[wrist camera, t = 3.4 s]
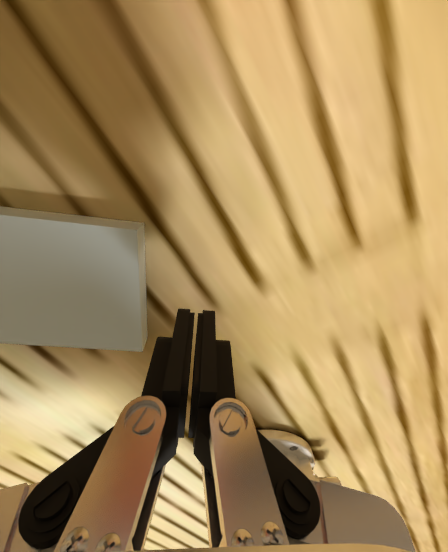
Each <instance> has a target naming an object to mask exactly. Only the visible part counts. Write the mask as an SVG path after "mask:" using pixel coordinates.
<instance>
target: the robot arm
mask: <svg viewBox="0 0 448 552" xmlns="http://www.w3.org/2000/svg"><path fill="white" fill-rule="evenodd" d="M194 314H195V313H190V309H178V312H177V317H176V323H175V328H174V333H173V338H168V337H158V338H157V341H156V344H155V348H154V351H153V355H152V359H151V362H150V366H149V370H148V374H147V377H146V381H145V385H144V388H143V392H142V396H141V397H138V398H136V399H134V400H132V401H131V402H130V403H128V404H127V405H126V406H125V408H124V409H123V411H122V412H121V414H120V416H119V418H118V420H117V422H116V424H115V426H114V427H112V428H111V429H110V430H108V431H107V432H106V433H104V434H103V435H101V436H100V437H99V438H97V439H96V440H95V441H93V442H92V443H91V444H89V445H88V446H87V447H85V448H84V449H83V450H81V451H80V452H79V453H77V454H76V455H75V456H73V457H72V458H71V459H69V460H68V461H67V462H65V463H64V464H63V465H61V466H60V467H59V468H57V469H56V470H55V471H53V472H52V473H51V474H49V475H48V476H47V477H45V478H44V479H43V480H42V481H41V482H39V483H35V484H31V485H27V483H23V484H20V485H16V486H12V487H8V488H4V489H1V490H0V552H415V549H414V546H413V543H412V540H411V538H410V535H409V532H408V529H407V527H406V525H405V523H404V521H403V519H402V517H401V516H400V515H399V513H398V512H397V511H396V509H395V508H394V507H393V506H392V505H390V504H389V503H388V502H387V501H386V500H384V499H382V498H380V497H378V496H374V495H371V494H368V493H364V492H361V491H357V490H354V489H350V488H347V487H343V486H341V483H340V481H339V479H338V478H337V477H317V475H316V474H313V471H312V470H313V468H314V465H315V458H314V455H313V452H312V450H311V447H310V446H309V444H308V443H307V442H306V441H305V440H303V439H302V438H301V437H299V436H297V435H295V434H292V433H288V432H285V431H279V430H264V429H263V430H257V429H256V428H255V426H254V422H253V419H252V415H251V413H250V411H249V409H248V408H247V407H246V405H245V404H244V403H242V402H241V401H239V400H237V399H236V397H235V387H234V377H233V367H232V357H231V346H230V341H223V340H216V332H215V311H207V310H203V313H198V322H197V333H196V344H195V356H194V368H193V382H192V395H191V409H190V422H189V436H188V438H194V442H193V447H194V455H195V456H196V457H197V459H198V460H199V461H200V462H201V464H202V474H203V485H204V495H205V505H206V515H207V526H208V536H209V546H210V548H192V549H168V550H144V551H143V549H144V545H145V541H146V538H147V534H148V530H149V526H150V523H151V519H152V515H153V511H154V507H155V504H156V500H157V496H158V492H159V489H160V485H161V481H162V477H163V473H164V470H165V465H166V463H167V462H168V461H169V460H170V459H171V458H172V457H173V456H174V455H175V454H176V447H177V445H178V438H184V429H185V418H186V407H187V396H188V385H189V374H190V363H191V351H192V339H193V326H194Z"/></svg>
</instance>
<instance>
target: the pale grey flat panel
mask: <svg viewBox="0 0 448 552" xmlns="http://www.w3.org/2000/svg"><path fill="white" fill-rule="evenodd" d="M147 338H148V333H147V298H146V263H145V229H144V223H142V222H133V221H125V220H116V219H107V218H98V217H90V216H81V215H72V214H63V213H55V212H46V211H37V210H28V209H20V208H11V207H2V206H0V343H6V344H22V345H38V346H55V347H71V348H88V349H104V350H120V351H137V352H143V349H144V346H145V343H146V341H147Z"/></svg>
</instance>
